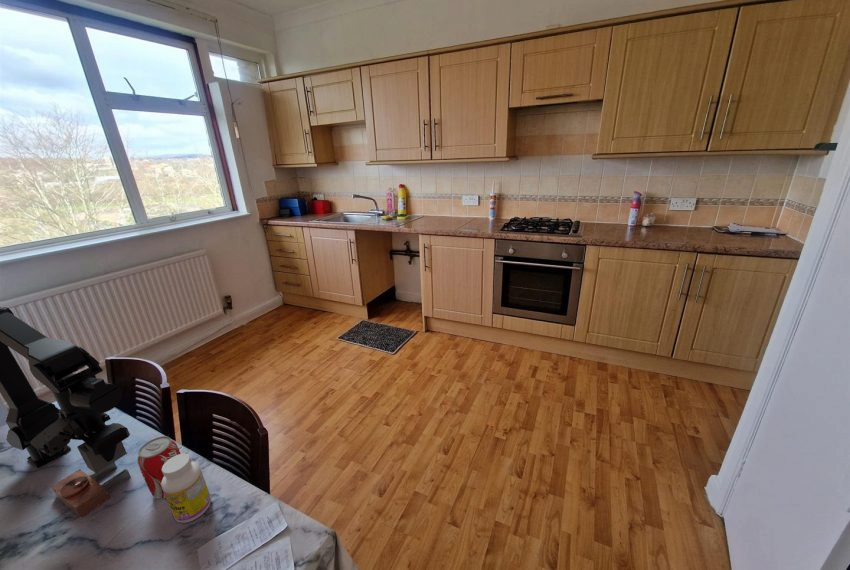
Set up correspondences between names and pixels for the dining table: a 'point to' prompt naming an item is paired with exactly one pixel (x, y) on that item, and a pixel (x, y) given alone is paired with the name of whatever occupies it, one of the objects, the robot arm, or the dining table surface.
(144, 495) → the dining table surface
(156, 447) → the soda can
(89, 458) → the grey stepped block
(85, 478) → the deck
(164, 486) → the supplement bottle
